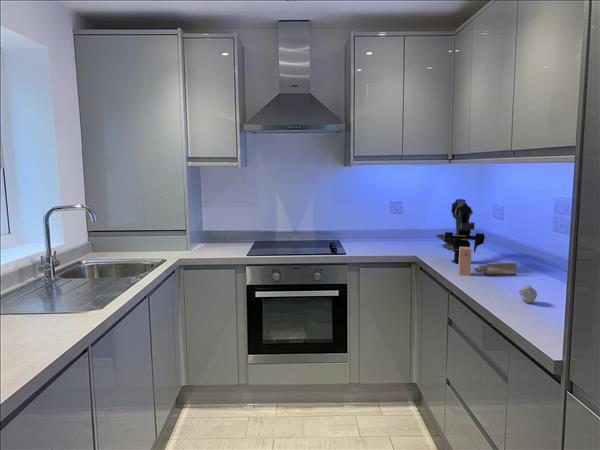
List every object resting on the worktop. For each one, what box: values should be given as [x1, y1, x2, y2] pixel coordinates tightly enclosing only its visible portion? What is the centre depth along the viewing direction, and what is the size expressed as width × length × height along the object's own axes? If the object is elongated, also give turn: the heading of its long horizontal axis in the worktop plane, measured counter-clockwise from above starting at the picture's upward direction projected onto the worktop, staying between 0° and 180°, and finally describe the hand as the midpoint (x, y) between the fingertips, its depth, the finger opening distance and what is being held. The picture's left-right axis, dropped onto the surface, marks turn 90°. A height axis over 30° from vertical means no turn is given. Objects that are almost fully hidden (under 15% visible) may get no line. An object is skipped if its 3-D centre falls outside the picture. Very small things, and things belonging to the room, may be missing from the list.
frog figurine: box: [518, 284, 538, 304], centre depth 174 cm, size 6×7×7 cm
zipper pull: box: [435, 233, 453, 252], centre depth 292 cm, size 9×7×25 cm
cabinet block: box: [457, 246, 472, 277], centre depth 219 cm, size 6×5×13 cm
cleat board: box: [474, 262, 517, 277], centre depth 223 cm, size 13×14×6 cm
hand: (464, 251), depth 222 cm, fingers open, 9 cm apart
